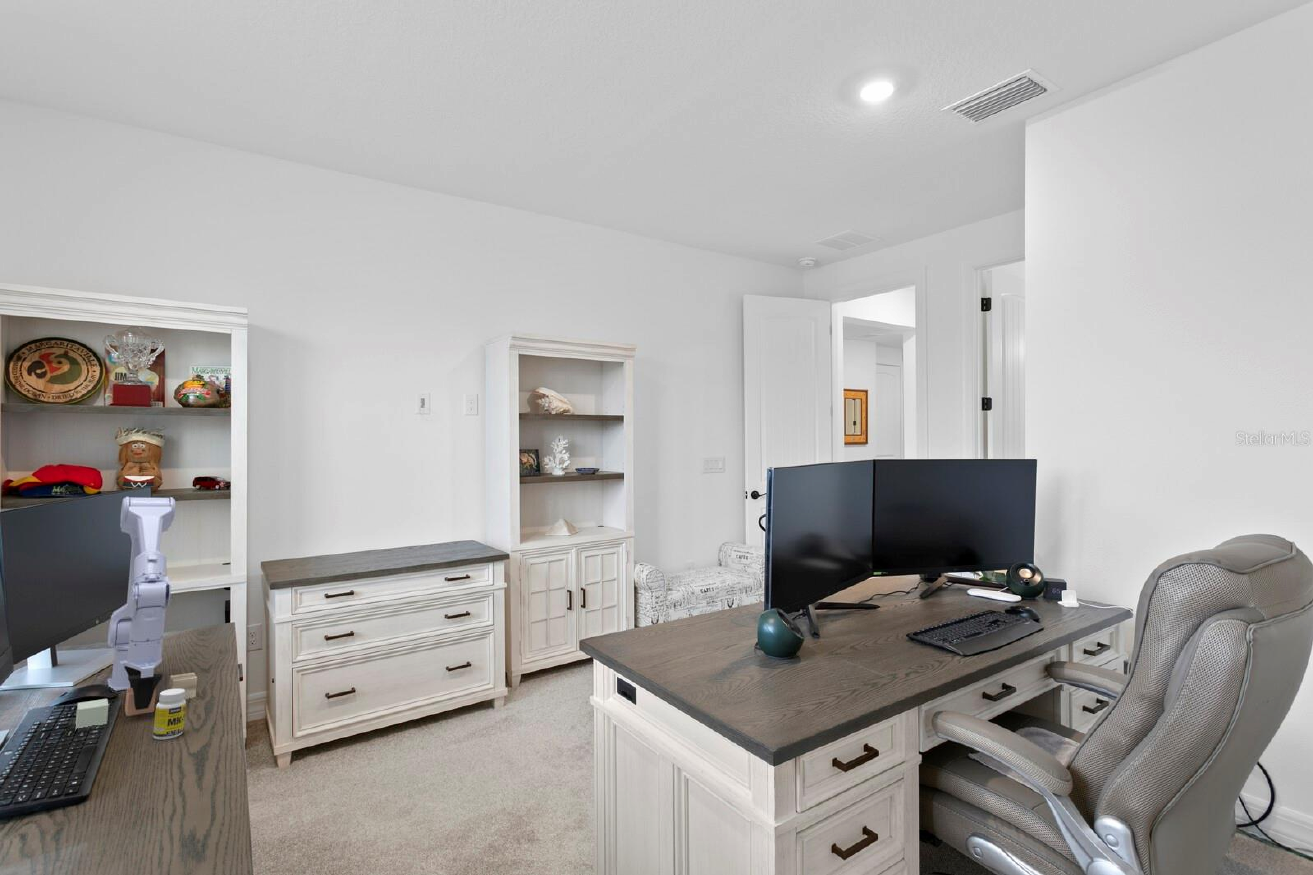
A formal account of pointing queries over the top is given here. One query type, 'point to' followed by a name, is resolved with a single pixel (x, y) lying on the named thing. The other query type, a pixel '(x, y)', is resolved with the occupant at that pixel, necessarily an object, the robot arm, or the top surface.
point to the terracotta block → (130, 704)
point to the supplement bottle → (169, 714)
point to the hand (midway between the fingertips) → (140, 703)
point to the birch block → (184, 684)
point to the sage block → (92, 713)
